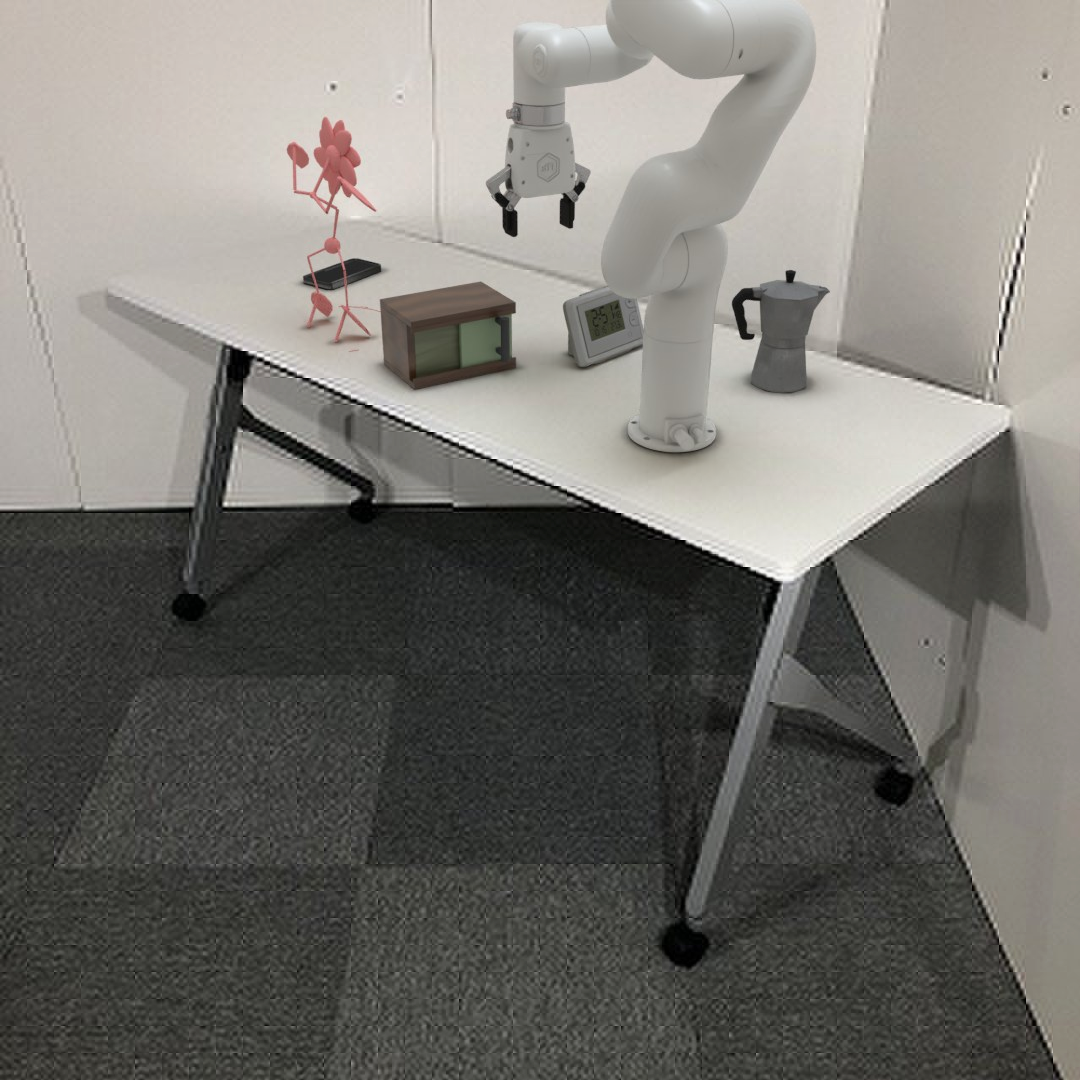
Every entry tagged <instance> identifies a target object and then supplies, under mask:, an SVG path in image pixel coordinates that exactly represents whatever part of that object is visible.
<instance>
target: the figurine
mask: <svg viewBox="0 0 1080 1080" xmlns="http://www.w3.org/2000/svg"><path fill="white" fill-rule="evenodd" d="M345 127H346V126H345V122H344V121H343V119H339V120H338V121H336V122H335V124H334V126H332V124H331V122H330V119H329V118H328V116H323V118H322V120H321V128H320V130H319V133H318V137H319V143H320V146H317V147H315V148H314V149H313V157H314V159H315V161H316V163H317V164H318V165H319V166H320V168H322V170H321V173H320V175H319V177H318V179H317V182H316V183H315V186H314V188H313V190H312V191H305V190H299V189H298V188H297V187H298V185H297V167H299V168H300V169H304V168H306V167H307V166H308V165H309V163H310V157H309V154H308V153H307V151H306V150H305V149H304V148H303V147H302V146H300V145H299V144H297V142H296V141H292V142H290V143H288V145H287V147H286V154H287V155H288V157H289V158H290V160H291V161H292V187H293V188H292V189H293V194H296V195H297V194H298V195H305V196H309V197H310V198H311V199H313V200H314V201H315V203H317V205H318V206H319V207H320V209H321V210H322V211H323V212H324V213H325V214H326V215H328V214H329V212H330V210H331V209H333V210H335V214H334V222H333V233H332V235H333V236H331V237H328V238H326V240H325V241H324V243H323V248H321V249H319V250H317V251H314V252H312V253H310V254H308V255H307V256H306V258H307V264H308V265H309V269H310V273H312V277H313V280H314V283H315V286H314V287H315V290H316V291H313V292H311V295H310V301H311V304H312V308H311V312H310V315H309V318H308V322H307V325H306V327H307V328H311V325H312V322H313V319H314V316H315V312H316V310H317V311H319V312H320V313H321V314H322V315H324V316H325V317H326V318H329V317H330V316H331V314H332V312H333V304H332V302H331V301H330V300H329V298H328V297H327V296H326V295H325V294H323V293H322V292H320V290H319V287H318V286H317V283H316V280H315V276H314V273H313V272H314V270H313V269H314V268H313V266H312V263H311V257H313V256H315V255H318V254H319V253H322V252H323V251H324V252H325V251H326V252H327V253H328V254H331V255H335V254H338V257H339V260H340V263H342V267H343V270H344V283H345V285H344V295H345V305H343V304H341V305H338V308H341V309H342V310H343V313H342V316H341V319H340V322H339V324H338V328H337V331H336V334H335V337H334V340H333V342H334V343H338V341H339V338H340V335H341V333H342V329H343V326H344V324H345V320H346V318H347V317H346V316H349V318H350V319H351V320H352V321H353V322H354V323H355V324H356V325H357V326H358V327H359V328H360V329H362V331H363V332H365V333H366V334H367V335H368V336H369V337H371V336H372V334H371V333H370V332H369V330H368V328H367V327H365V325H364V324H363V323H362V322H361V320H359V318H358V317H356V316H355V314H354V313H353V312H352V311H350V310H351V308H352V306H349V296H348V284H347V280H346V271H345V267H344V263H343V261H344V260H343V257H342V253H341V241H340V240H339V239H338V238H337V237H336V234H337V227H338V220H339V216H340V215H339V213H340V209H339V208H338V206H336V205H334V204H333V201H334V200H335V196H336V195H337V194H338V192H340V190H342V192H343V194H344V196H345V197H346V198H348V199H349V198H351V196H352V195H353V196H354V197H355V198H356V199H357V200H358V201H360V202H361V203H362V204H363V205H365V206H366V207H367V208H369V209H370V210H371V211H373V212H374V213H376V212H377V209H376V208H375V207H374V205H373V204H372V203H371V202H370V201H369V200H368V198H367V197H365V196H364V194H362V193H361V191H359V189H357V188H356V185H357V184H358V183H357V181H358V180H357V179H358V178H357V174H356V170H355V168H358V167H359V166H360V165H361V162H362V160H361V159H362V158H361V156H360V154H359V153H358V151H357V150H356V149H355V147H353V146H351V145H352V140H353V137H352V134H351V132H350V131H349V130H346V128H345ZM323 179H324V180H325V181H327V184H328V191H329V192H328V193H330V198H329V200H328V201H327V200H325V199H323V198H321V197H319V196H317V192H318V190H319V187H320V185H321V183H322V181H323ZM322 203H323V204H325V205H326V207H325V205H323V204H322ZM353 308H355V309H356V308H357V309H364V310H370V311H375V312H378V313H381V310H378V309H373V308H369V307H368V306H365V307H363V306H361V305H360V306H353ZM357 351H359V349H354V350H353V349H352V350H349V351H348V352H349V353H350V352H351V353H352V352H357Z"/></svg>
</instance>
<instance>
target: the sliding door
mask: <svg viewBox="0 0 1080 1080" xmlns="http://www.w3.org/2000/svg"><path fill="white" fill-rule="evenodd" d="M512 315H513V314H509V315H504V316H499V317H494V318H488V319H483V320H478V321H473V322H468V323H462V324H459V346H460V368H465V367H470V366H475V365H479V364H484V363H489V362H494V361H498V360H501V361H502V362H509V361H510V358H513V321H512V320H513V316H512Z"/></svg>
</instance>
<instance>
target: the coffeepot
mask: <svg viewBox="0 0 1080 1080" xmlns="http://www.w3.org/2000/svg"><path fill="white" fill-rule="evenodd" d="M784 272H785V279H776V280H772V281H767V282H763V283H760V284H759V286H753V287H744V288H741V289H740V290H739V291H738V292H737V294H735V296H734V297H733V298H732V299H731V308H732V311H733V315H734V319H735V322H736V326H737V330H738V333H739V337H740V339H741V340H743V341H751V340H754V338H755V336H756V334H755V333H749V332H748V322H747V319H746V314H745V313H746V311H745V307H744V302H746V301H753V302H759V316H760V333H761V338H760V340H759V341H760V342H759V345H758V348H757V353H756V356H755V360H754V364H753V367H752V370H751V377H750V383H751V384H752V385H753V386H754V387H756V388H758V389H760V390H763V391H767V392H771V393H772V392H773V393H779V394H780V393H781V394H782V393H785V394H788V393H794V392H798V391H800V390H803V389H805V388H807V359H806V358H807V355H806V337H807V336H808V335H809V331H810V327H811V324H812V320H813V316H814V312H815V310H816V309H817V307H818V306H819V305H820V303H821V302H822V301H823V299H824V298H825V297H826V295H827V294H830V293H831V290H830V289H828V288H827V287H826V286H822V285H815V284H810V283H806V282H804V281H802V280H801V281H800V280H795V277H796V273H797V271H796V270H793V269H788V270H785V271H784Z"/></svg>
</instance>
